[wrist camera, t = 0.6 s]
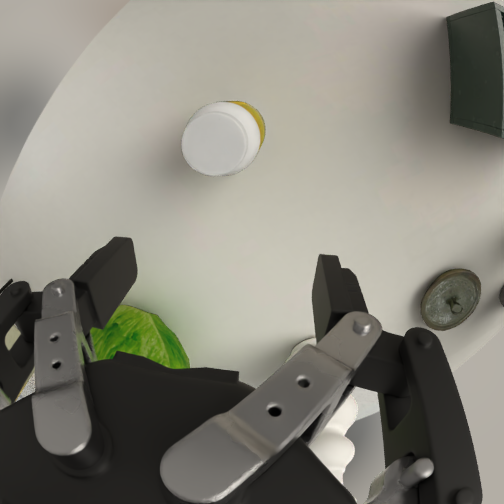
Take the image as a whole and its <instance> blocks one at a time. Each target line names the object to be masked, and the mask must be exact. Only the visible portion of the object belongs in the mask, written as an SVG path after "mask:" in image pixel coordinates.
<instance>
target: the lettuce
mask: <svg viewBox="0 0 504 504" xmlns="http://www.w3.org/2000/svg"><path fill="white" fill-rule="evenodd" d="M90 332H91V334H92V338H93V342H94V347H95V352H96V356H97V360H103V359H113V357H114V355H115V353H116V351H122V352H126V353H130V354H135V355H139V356H144V357H146V358H148V359H150V360H153V361H155V362H157V363H159V364H161V365H164V366H166V367H168V368H172V369H183V368H190V363H189V359H188V357H187V355H186V353H185V351H184V349H183V347H182V345H181V344H180V342H179V340H178V338H177V336H176V335H175V334H174V333H173V332H172V331H171V330H170V329H169V328H168V327H167V326H166V325H165V324H164V323H163V322H162V320H161V319H160V318H159V317H158V316H157V315H155V314H152V313H148V312H145V311H143V310H140V309H137V308H134V307H132V306H127V305H120V306H118V308H117V309H116V311H115V312H114V314H113V315H112V317H111V318H110V320H109V321H108V323H107V324H106V326H105V328H104V329H103V330H102V329H97V328H93V327H92V329H91V330H90Z"/></svg>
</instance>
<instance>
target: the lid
mask: <svg viewBox="0 0 504 504" xmlns="http://www.w3.org/2000/svg"><path fill="white" fill-rule="evenodd" d="M480 294H481V283H480V280H479V278H478V277H477V276H476V274H475V273H473V272H471V271H470V270H466V269H453V270H448V271H446V272H445V273H443V274H441V275H440V276H439V277H438V278H437V279H436V280H435V281H434V282H433V283H432V284H431V285H430V287H429V288H428V289H427V291H426V293H425V295H424V297H423V299H422V302H421V315H422V318H423V320H424V322H425V323H426V325H427V326H429V327H430V328H432V329H434V330H441V331H445V330H448V329H451V328H454V327H456V326H457V325H459V324H461V323H462V322H463V321H465V320H466V319H467V318H468V317H469V316H470V315H471V314H472V313H473V311H474V310H475V308H476V306H477V304H478V302H479V299H480Z"/></svg>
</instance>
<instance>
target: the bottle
mask: <svg viewBox="0 0 504 504" xmlns="http://www.w3.org/2000/svg"><path fill="white" fill-rule="evenodd" d="M499 299H500V302H501V304H502V305H503V307H504V286H503V288H502V290H501V293H500V297H499Z"/></svg>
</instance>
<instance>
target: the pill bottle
mask: <svg viewBox="0 0 504 504" xmlns="http://www.w3.org/2000/svg"><path fill="white" fill-rule="evenodd" d="M264 137H265V123H264V120H263V118H262V116H261V114H260V113H259V112H258V110H257V109H255V108H254V107H253V106H251V105H249V104H247V103H245V102H240V101H221V102H214V103H211V104H208V105H206V106H204V107H202V108H200V109H199V110H198V111H197V112H195V113H194V115H193V116H192V117H191V118H190V120H189V122H188V124H187V126H186V128H185V130H184V132H183V135H182V140H181V149H182V153H183V156H184V158H185V160H186V162H187V163H188V164H189V166H190V167H191V168H193V169H194V170H195V171H197V172H199V173H201V174H203V175H207V176H228V175H233V174H236V173H238V172H240V171H242V170H244V169H245V168H246V167H248V166H249V165H250V164H251V163H252V161H253V160H254V159H255V157H256V155H257V153H258V151H259V149H260V147H261V145H262V143H263V141H264Z"/></svg>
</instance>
